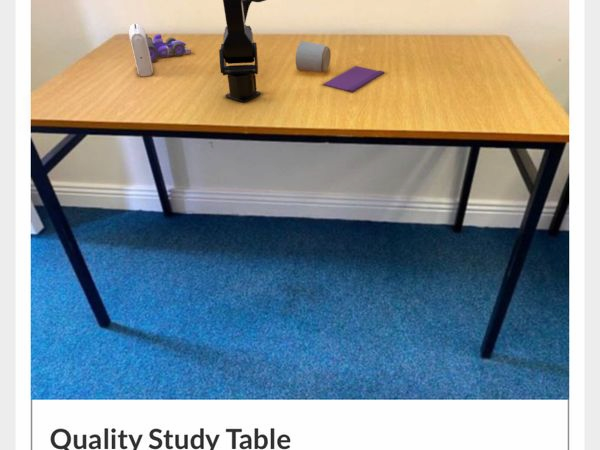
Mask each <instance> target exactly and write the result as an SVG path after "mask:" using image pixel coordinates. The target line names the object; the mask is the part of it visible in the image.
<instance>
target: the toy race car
mask: <svg viewBox="0 0 600 450" xmlns="http://www.w3.org/2000/svg"><path fill="white" fill-rule="evenodd" d="M145 35H146V39H147V44H148V48H149V52H150V57H151V62H152V64H153V63H155V62H157V61H158V59H160V58H169V57H174V56H177V57H182V56H184V54H185V55H188V54H192V50H191V49H189V48H187V47H186V46H187V43H186V42H183V41H182V40H177V39H176V38H174V37H169V38H167V39H166V41H165V42H164V41H163V40H164V39H163V38H162V34H161V33H157V34H155V35H154V36H153V38H152V37H150V36H148V34H147V33H145Z"/></svg>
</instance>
